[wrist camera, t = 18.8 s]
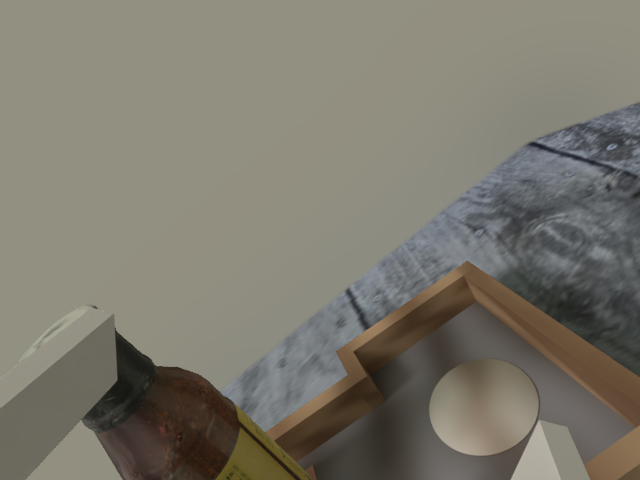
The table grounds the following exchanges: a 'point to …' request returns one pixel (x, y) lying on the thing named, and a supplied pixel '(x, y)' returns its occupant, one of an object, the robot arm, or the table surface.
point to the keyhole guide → (465, 393)
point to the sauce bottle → (175, 423)
